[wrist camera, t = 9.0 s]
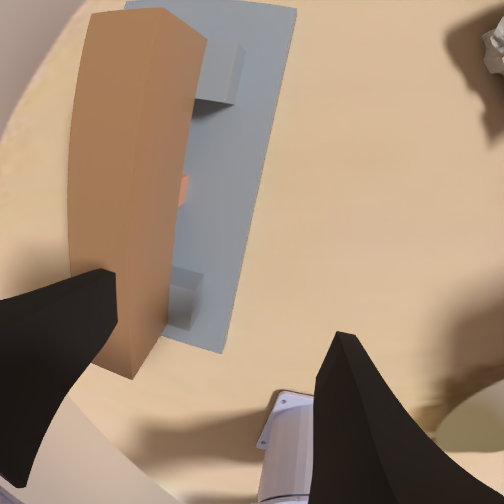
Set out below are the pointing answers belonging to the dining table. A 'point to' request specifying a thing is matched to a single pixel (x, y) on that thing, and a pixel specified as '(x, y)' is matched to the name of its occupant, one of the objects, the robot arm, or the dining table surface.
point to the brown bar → (131, 166)
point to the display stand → (222, 157)
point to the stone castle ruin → (494, 49)
